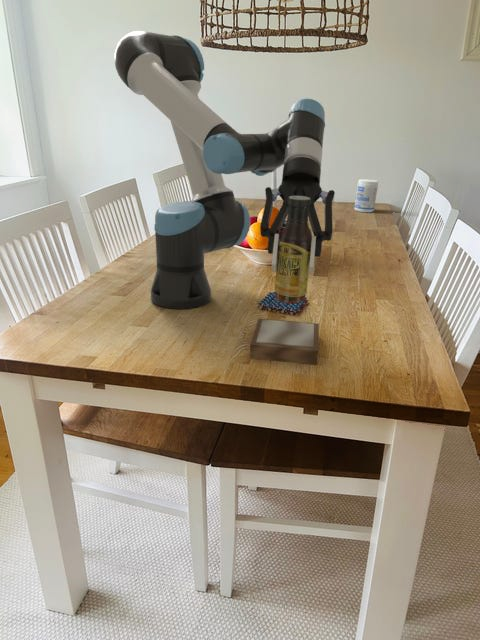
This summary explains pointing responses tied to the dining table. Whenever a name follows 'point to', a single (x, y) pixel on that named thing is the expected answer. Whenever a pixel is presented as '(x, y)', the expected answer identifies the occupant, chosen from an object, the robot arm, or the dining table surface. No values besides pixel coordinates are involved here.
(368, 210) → the supplement tub
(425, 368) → the dining table surface
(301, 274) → the sauce bottle
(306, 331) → the walnut plinth
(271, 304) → the woven mat
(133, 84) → the robot arm
